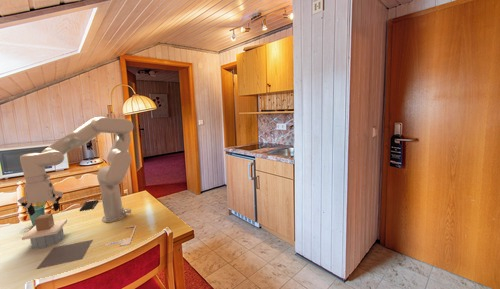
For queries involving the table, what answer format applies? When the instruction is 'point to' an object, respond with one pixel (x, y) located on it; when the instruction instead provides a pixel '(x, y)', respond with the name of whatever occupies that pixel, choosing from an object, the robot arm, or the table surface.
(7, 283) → the table surface
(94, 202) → the phone
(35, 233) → the lid
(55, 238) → the bowl
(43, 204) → the cup
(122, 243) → the photo frame
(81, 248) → the mat
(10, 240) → the table surface
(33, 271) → the table surface
